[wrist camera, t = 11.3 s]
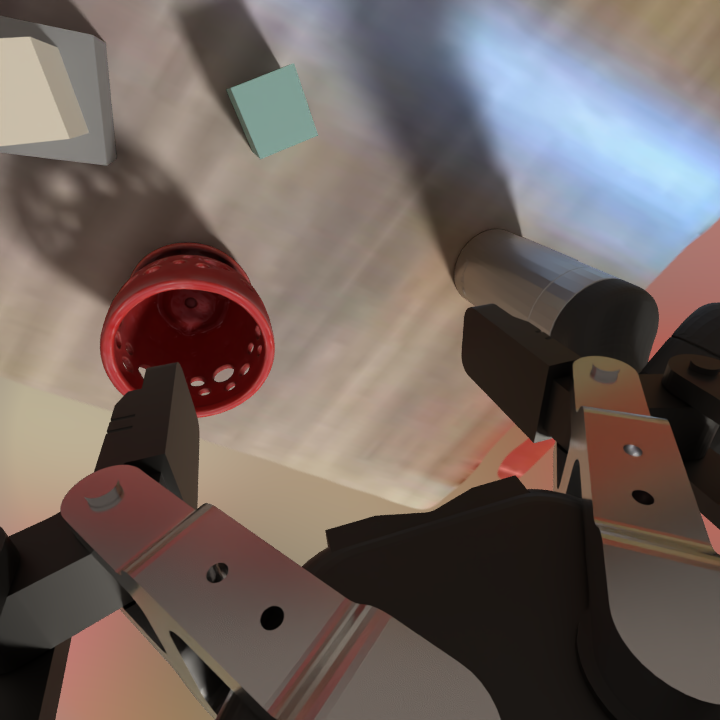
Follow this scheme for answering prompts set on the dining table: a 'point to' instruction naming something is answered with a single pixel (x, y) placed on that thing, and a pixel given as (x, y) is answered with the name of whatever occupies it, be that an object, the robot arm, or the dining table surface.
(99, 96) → the slate base block
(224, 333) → the plant pot
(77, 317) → the dining table surface
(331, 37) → the dining table surface
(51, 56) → the cream block
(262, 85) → the teal block
